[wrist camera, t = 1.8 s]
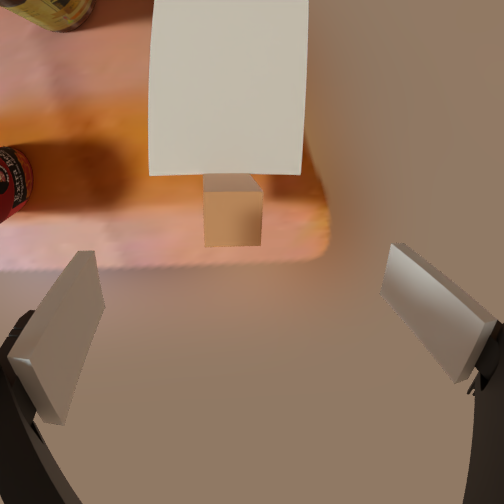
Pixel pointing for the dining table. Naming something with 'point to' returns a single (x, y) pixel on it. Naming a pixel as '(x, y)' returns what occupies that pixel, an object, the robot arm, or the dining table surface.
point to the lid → (228, 103)
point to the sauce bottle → (52, 12)
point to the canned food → (14, 181)
